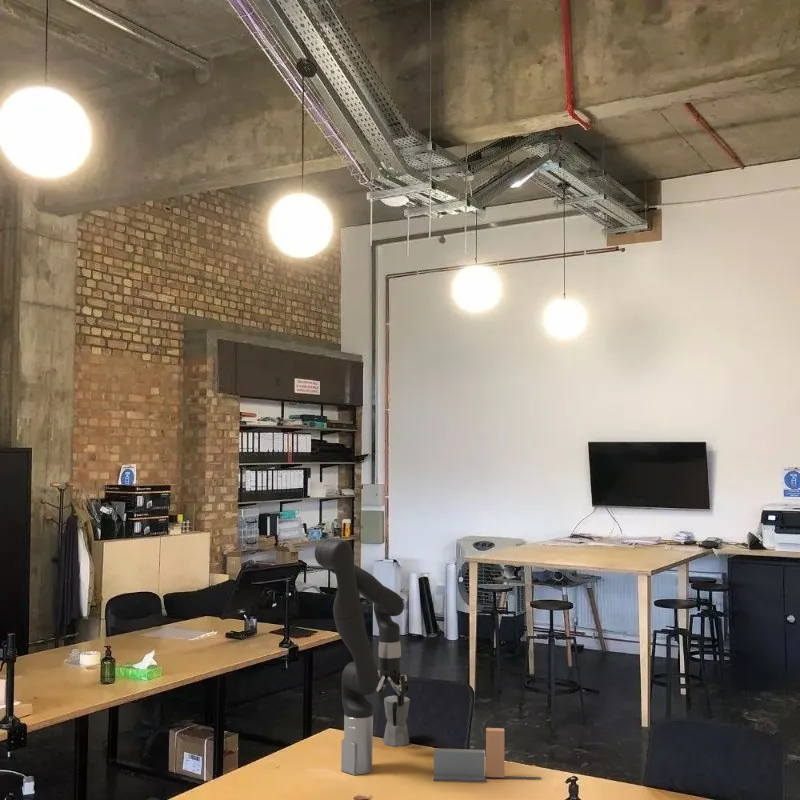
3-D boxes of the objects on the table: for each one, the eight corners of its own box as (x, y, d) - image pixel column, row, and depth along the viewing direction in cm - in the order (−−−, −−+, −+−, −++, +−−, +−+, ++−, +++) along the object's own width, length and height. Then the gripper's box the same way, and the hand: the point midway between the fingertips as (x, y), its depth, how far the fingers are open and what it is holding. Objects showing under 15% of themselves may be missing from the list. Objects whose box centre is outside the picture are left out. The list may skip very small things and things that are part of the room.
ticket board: (433, 781, 265) (433, 755, 265) (434, 769, 275) (434, 744, 275) (542, 784, 263) (542, 758, 263) (539, 773, 273) (539, 748, 273)
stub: (486, 776, 267) (486, 730, 268) (485, 773, 270) (486, 727, 271) (504, 777, 267) (504, 731, 268) (503, 774, 270) (503, 728, 271)
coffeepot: (385, 736, 309) (385, 685, 311) (411, 737, 308) (411, 686, 310) (380, 750, 294) (380, 696, 295) (407, 751, 293) (408, 697, 294)
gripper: (366, 654, 288) (367, 703, 287) (398, 659, 279) (399, 710, 278) (381, 650, 294) (382, 698, 292) (413, 655, 284) (414, 705, 283)
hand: (390, 704), depth 285 cm, fingers open, 8 cm apart
